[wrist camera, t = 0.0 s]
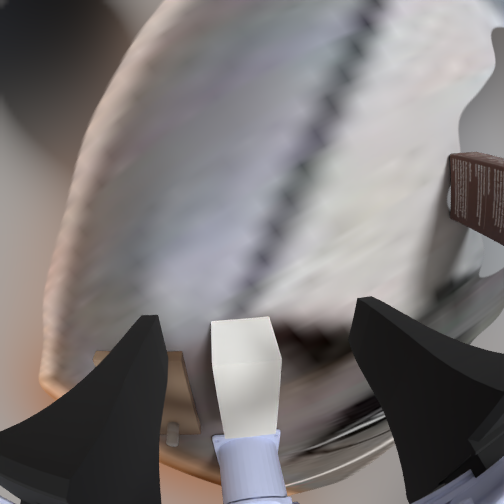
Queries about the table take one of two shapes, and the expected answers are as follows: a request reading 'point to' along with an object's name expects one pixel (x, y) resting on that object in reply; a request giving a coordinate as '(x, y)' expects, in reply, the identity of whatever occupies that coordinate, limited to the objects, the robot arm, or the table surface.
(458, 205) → the box
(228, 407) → the white rectangular block
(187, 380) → the peg board
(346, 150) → the table surface
